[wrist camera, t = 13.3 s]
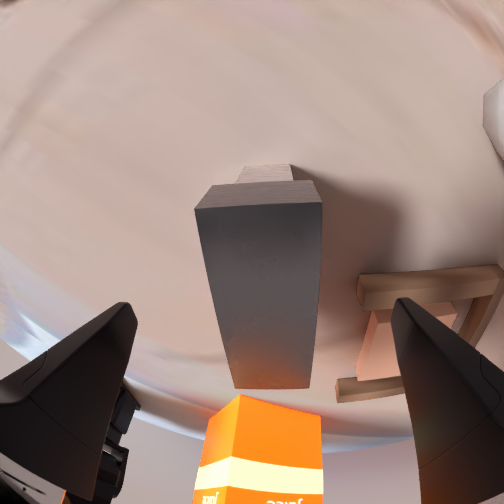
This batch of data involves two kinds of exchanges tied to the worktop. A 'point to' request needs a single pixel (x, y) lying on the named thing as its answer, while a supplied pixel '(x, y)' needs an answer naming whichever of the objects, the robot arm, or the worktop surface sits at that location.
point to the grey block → (264, 273)
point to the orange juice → (260, 456)
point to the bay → (423, 293)
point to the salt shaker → (495, 116)
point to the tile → (390, 342)
